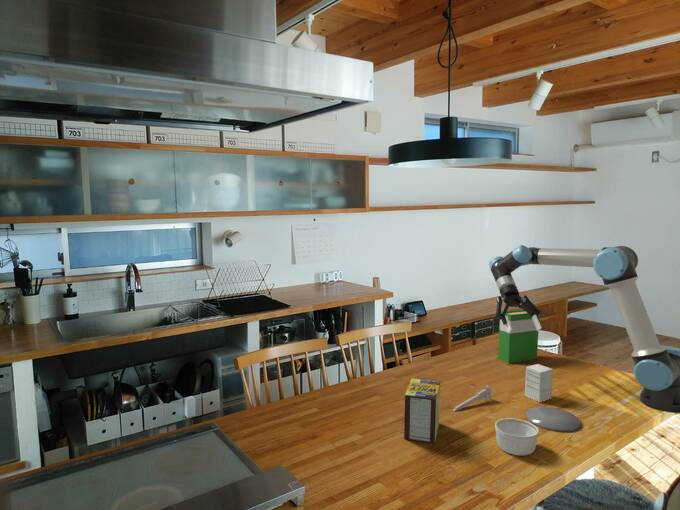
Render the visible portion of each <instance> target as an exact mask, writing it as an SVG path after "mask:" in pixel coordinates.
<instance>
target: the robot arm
mask: <svg viewBox="0 0 680 510" xmlns="http://www.w3.org/2000/svg"><path fill="white" fill-rule="evenodd" d="M638 264H639V258H638V255H637V252H635V250H634V249H632V248H631V247H629V246H624V245H617V246H610V247H609V246H608V247H607V246H604V247H602V248H600V249H597V248H595V249H591V248H587V249H585V248H557V247H556V248H553V247H552V248H551V247H549V248H548V247H534V246H531V247H530V246H529V247H528V246H526V245H523V244H520V245H519V246H517V247H514V249H513V250H511V251H510V252H509V253H508V254H506V255H504V256H501V255H499V256H496V257H493V258H492V259H490V261H489V263H488V266H489V268H490V272H491V274H492V275H493V279H494V281H495V283H496V286H497V289H498V290H499V294H500V295H499V296H498V297H497V298H496V309H495V310H496V312H495V318H498V319H499V321H500V320H502V322H503V324H504V325H505V326H506V328H507V331H508V333H510V332H511V331H512V330H513V329H512V327H511V324H510V322H509V319H508V317H507V316H505V314H506V312H507V311H509V308H517V307H518V308H519V309H521V310H524V311H526V312H527V313H528V314H530V315H531V316H532V320H533V322H534V325H535V327H536V329H537V331H538V332H539V331H540V330H541V329H542V324H541V323H540V322H541V320H540V314H541V313H542V311H541V310H540V309H539V308H538V307H537V306H536V305H535V304H534V303H533V302H532V301H531V300H530V299H529V297H528V295H523V296H521V295H520V291H519V290H518V286H517V285H516V282H515V280H514V278H513V275H512V273H513V272H515V271H516V270H518V269H519V268H520V267H523V266H529V265H542V266H543V265H544V266H560V267H561V266H564V267H580V268H581V267H582V268H593V270H594V271H595V273H596V275H597V276H598V277H600V278H601V279H602V280H601V281H602V282H603V285H604V287H606V288H609V290H610V291H611V293H612V296H613V299H614V301H615V304H616V308H618V312H619V314H620V317H621V319H622V322H623V325H624V327H625V330H626V332H627V333H626V334H627V335H628V338H629V341H630V343H631V346H632V349H633V351H632V353H631V354H630V355H631V359H632V361H633V364H634V368H633V376H634V378H635V380H636V381H637V383H638V384H639V385H640V386H642V390H641V392H640V394H639V401H640V402H641V403H642V404H643V405H646V406H648V407H650V408H653V409H656V410H660V411H665V412H670V413H678V412H680V348H678V347H675V346H671V345H665V344H664V345H663V344H660V341H659V339H658V337H657V334H656V331H655V329H654V327H653V323H652V321H651V319H650V316H649V314H648V312H647V309H646V306H645V303H644V301H643V298H642V296H641V294H640V291H639V288H638V286H637V279H638V278H639V276H638V273H637V271H636V268H637V267H638ZM503 302H504V303H505V305H504V308H503V310H502V306H503ZM501 312H502V314H501ZM533 313H534V314H533ZM538 315H539V317H538Z"/></svg>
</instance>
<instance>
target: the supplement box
mask: <svg viewBox="0 0 680 510" xmlns="http://www.w3.org/2000/svg"><path fill="white" fill-rule="evenodd" d="M553 373H554V370H553V368H550V367H548V366H545V365H542V364H539V363H536V364H533V365H528V366H526V367H525V381H524V382H525V383H524V384H525V385H524V397H525V396H526V398H527V397H528V398H527V399H530V398H531V399H530V400H532V399H533V400H532V401H534V400H536V401H538V402H537V403H539V402H540V403H543V402H546V400H547V401H550V400H552V395H553V393H552V390H553ZM549 399H550V400H549ZM536 401H535V402H536ZM542 401H543V402H542Z"/></svg>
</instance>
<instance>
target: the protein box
mask: <svg viewBox="0 0 680 510" xmlns="http://www.w3.org/2000/svg"><path fill="white" fill-rule="evenodd" d="M440 409H441V381H436V380H428V379H419V378H410V381H409V384H408V386H407V389H406V391H405V394H404V420H403V421H404V422H403V423H404V427H403V431H404V432H403V433H404V434H403V439H404V440H410V441H411V440H412V441H417V442H422V443H423V442H424V443H431V444H436V440H437V437H438V436H437V435H438V430H439V425H440V414H441V413H440V412H441V411H440Z"/></svg>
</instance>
